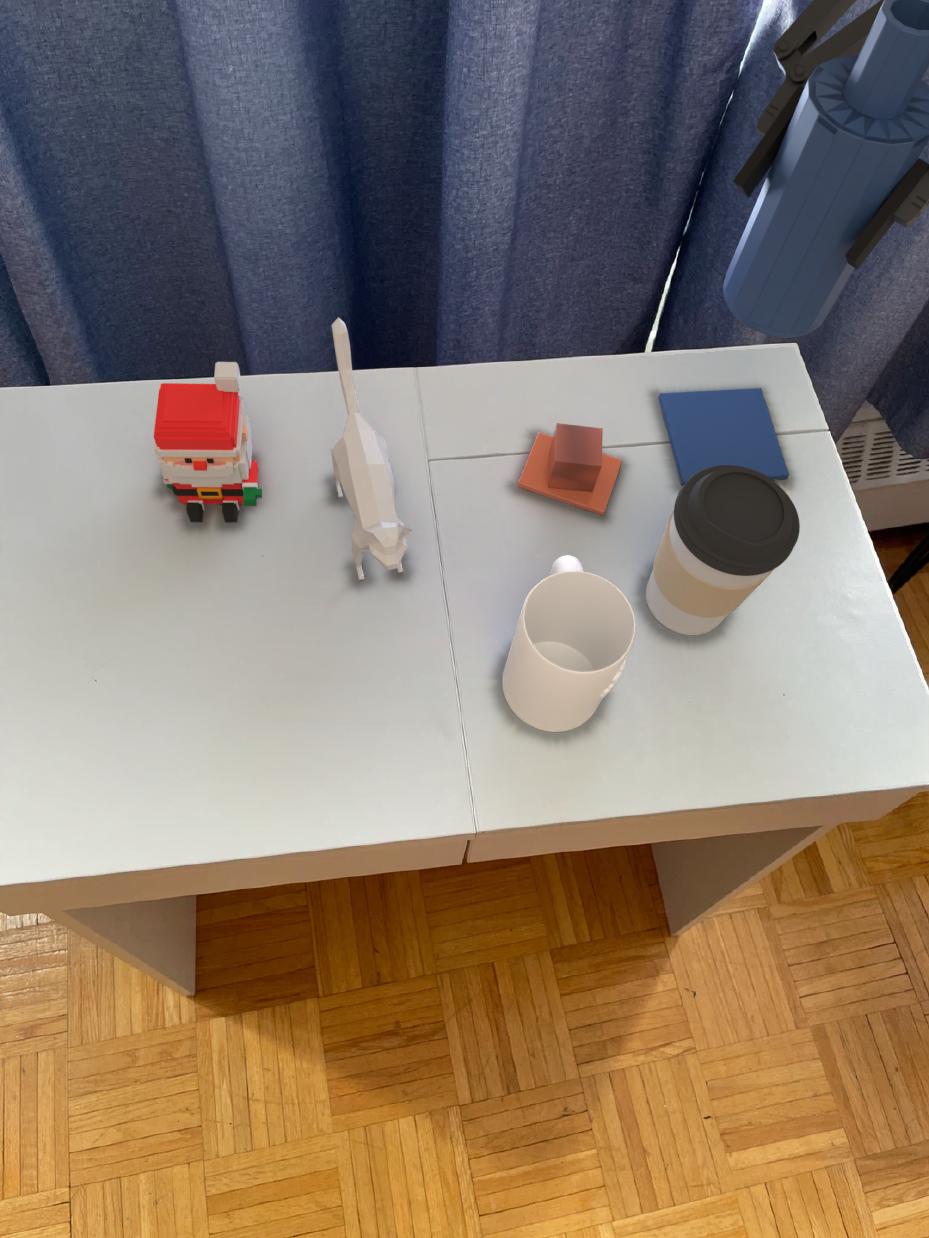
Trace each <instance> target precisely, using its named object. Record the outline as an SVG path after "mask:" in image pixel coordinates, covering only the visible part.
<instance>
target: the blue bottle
mask: <svg viewBox="0 0 929 1238" xmlns="http://www.w3.org/2000/svg"><path fill="white" fill-rule="evenodd" d="M928 69H929V0H884V2H883V4H882V6H881V8H880V10H879V13H878V15H877V17H876V19H875V21H874V23H873V26H872V28H871V30H870V32H869V34H868V36H867V39H866V41H865V43H864V45H863V47H862V49H861V52H860V54H859V55H854V56H844V57H836V58H833V59H831V60H829V61H827V62H825V63H823V64H821V65H819V66H817V68H816V69H815V70H814V72H813V73H812V75H811V76H810V78H809V79H808V81H807V83H806V86H805V88H804V91H803V93H802V95H801V98H800V100H799V102H798V105H797V107H796V110H795V112H794V114H793V117H792V119H791V121H790V124H789V126H788V129H787V131H786V133H785V136H784V138H783V140H782V143H781V145H780V147H779V150H778V152H777V155H776V157H775V159H774V162H773V164H772V166H771V167H770V168H769V170H768V173H767V176H766V178H765V180H764V183H763V185H762V188H761V191H760V192H759V195H758V197H757V200H756V202H755V205H754V206H753V209H752V212H751V214H750V216H749V218H748V221H747V223H746V225H745V229H744V230H743V233H742V235H741V238H740V239H739V243H738V245H737V247H736V250H735V252H734V254H733V256H732V259H731V261H730V264H729V266H728V268H727V270H726V272H725V273H726V274H725V277H724V281H723V286H722V293H723V297H724V298H723V299H724V301H725V304H726V305H727V307H728V309H729V311H730V312H731V313H732V314H733V316H734V317H735V318H736V319H737V320H738V321H739V322H741V323H742V324H743V325H745V326H746V327H748V328H749V329H752V330H753V331H755V332H758V333H760V334H762V335H766V336H768V337H769V336H770V337H773V338H780V339H781V338H782V339H784V338H785V339H790V338H791V339H792V338H799V337H803V336H806V335H809V334H811V333H812V332H815V330H817V329H819V328H820V327H821V325H822V324H823V323H824V322H825V320H826V318H827V317H828V315H829V313H830V312H831V310H832V308H833V307H834V305H835V303H836V301H837V300H838V298H839V296H840V295H841V293H842V291H843V290H844V287H845V286H846V284H847V282H848V281H849V279H850V277H851V276H852V274H853V272H854V270H855V268H854V267H853V266H851V265H850V264H848V262H847V259H846V256H845V254H846V253H847V252H848V250H849V249H850V248H851V246H852V245H853V244H854V242H855V241H856V240H857V239H858V237H859V236H860V235H861V233H862V232H863V231H864V229H865V228H866V227H867V225H868V224H869V223H870V222H871V220H872V219H873V218H874V216H875V215H876V214H877V212H878V211H879V210H880V208H881V207H882V206H883V205H884V203H885V202H886V201H887V199H888V198H889V197H890V195H891V194H892V193H893V191H894V190H895V189H896V188H897V186H898V185H899V184H900V182H901V181H902V180H903V178H904V177H905V176H906V174H907V173H908V172H909V171H910V169H911V168H912V167H913V165H914V164H915V163H916V161H917V160H918V159H919V158H920V156H921V154H922V153H923V151H924V150H925V148H926V146H927V144H928V142H929V84H928V83H927V82H926V81H925V80H923V78H924V76H925V75H926V73H927V71H928Z"/></svg>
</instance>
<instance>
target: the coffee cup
mask: <svg viewBox="0 0 929 1238" xmlns="http://www.w3.org/2000/svg"><path fill="white" fill-rule="evenodd" d="M800 525H801V524H800V518H799V514H798V511H797V508H796V506H795V504H794V502H793V500H792V499H791V497H790V496H789V495H788V493H787V492H786V490H784V489H783V488H782V486H780V485H779V484H778V483H777V482H776V481H775V480H772V479H771V478H769V477H768V476H766V475H764V474H762V473H760V472H758V471H755V470H752V469H749V468H745V467H741V466H735V465H718V466H712V467H708V468H705V469H703V470H701V471H699V472H697V473H696V474H694V475H693V476H692V477H690V478H689V479H688V481H687V482H686V483H685V485H682V488H680V490H679V492H678V493H677V496H676V499H675V501H674V505H673V510H672V512H671V513H670V516H669V518H668V521H667V524H666V527H665V529H664V532H663V535H662V537H661V541H660V543H659V545H658V549H657V551H656V554H655V557H654V560H653V567H652V571H651V573H650V576H649V579H648V581H647V584H646V589H645V600H646V603H647V606H648V609H649V612H651V614H652V615H653V617H654V618H655V619H656V620H657V621H658V622H659V623H660V624H661V625H662V626H663V627H665V628H667V629H669V630H670V631H672V632H674V633H678V634H682V635H687V636H699V635H703V634H706V633H708V632H711V631H713V630H714V629H716V628H717V626H719V624H721V623H722V621H723V620H725V618H727V616H728V615H729V614H730V613H732V612H734V611H735V610H736V609H738V607H740V606H741V605H742V604H743V603H744V601H746V600H747V599H748V598H749V597H750V595H751V594H752V593H753V592H755V591H756V590H757V589H758V588H759V586H760V585H762V583H764V581H766V580H767V579H768V577H769V576H770V575H771V574H772V573H773V572H774V570H775V569H777V568H778V567H780V566H781V565H782V564H784V563H785V562H786V561H787V559H788V558H789V557H790V556H791V554H792V552H793V550H794V548H795V546H796V544H797V542H798V539H799V536H800V528H801V526H800Z"/></svg>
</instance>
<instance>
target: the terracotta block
mask: <svg viewBox="0 0 929 1238" xmlns="http://www.w3.org/2000/svg"><path fill="white" fill-rule="evenodd" d="M603 433H604V432H603V427H595V426H586V425H578V424H570V423H569V424H568V423H560V422H558V423H556V425H555V427H554V432H553V436H552V437H553V439H552V443H551V447H550V452H549V472H548V487H550V488H559V489H568V490H577V491H586V492H593V490H594V487H595V484H596V481H597V478H598V476H599V473H600V470H601V467H602V453H603Z"/></svg>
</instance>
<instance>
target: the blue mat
mask: <svg viewBox="0 0 929 1238" xmlns="http://www.w3.org/2000/svg"><path fill="white" fill-rule="evenodd" d="M658 400H659V404H660V408H661V411H662V415H663V418H664V423H665V426H666V431H667V434H668V438H669V442H670V446H671V451H672V453H673V457H674V462H675V465H676V469H677V474H678V476H679V480H680V484H681V486H684V485H685V483H686V482H687V481H688V479H689V478H690V477H692V476H693V475H694V474H696V473H697V472H699V471H701V470H703V469H705V468H708V467H712V466H718V465H735V466H741V467H745V468H749V469H752V470H755V471H758V472H760V473H762V474H764V475H766V476H768V477H769V478H771V479H772V480H773V481H775V480H787V479H788V478H789V476H790V473H789V470H788V467H787V464H786V461H785V458H784V454H783V451H782V448H781V445H780V442H779V439H778V436H777V433H776V430H775V427H774V424H773V420H772V418H771V415H770V410H769V407H768V405H767V402H766V398H765V395H764V393H763V389H762V388H761V387H756V388H736V389H718V390H717V389H716V390H696V391H679V392H677V391H675V392H660V393H659V395H658Z"/></svg>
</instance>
